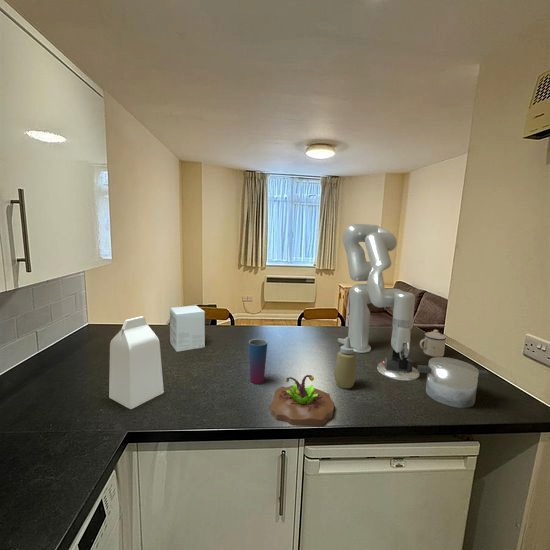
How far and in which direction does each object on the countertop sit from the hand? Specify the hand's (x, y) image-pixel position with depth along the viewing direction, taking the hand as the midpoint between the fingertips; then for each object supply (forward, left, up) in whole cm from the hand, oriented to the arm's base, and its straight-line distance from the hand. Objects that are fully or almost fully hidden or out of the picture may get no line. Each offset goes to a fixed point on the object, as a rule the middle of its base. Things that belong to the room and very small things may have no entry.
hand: (399, 363), depth 126 cm
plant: (-38, -33, -4) cm, 50 cm away
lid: (0, 0, -4) cm, 4 cm away
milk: (-92, -36, -4) cm, 99 cm away
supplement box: (-94, +10, -4) cm, 95 cm away
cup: (-55, -19, -4) cm, 58 cm away
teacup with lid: (+21, +23, -4) cm, 31 cm away
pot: (+13, -17, -3) cm, 21 cm away
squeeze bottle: (-23, -16, -4) cm, 28 cm away
